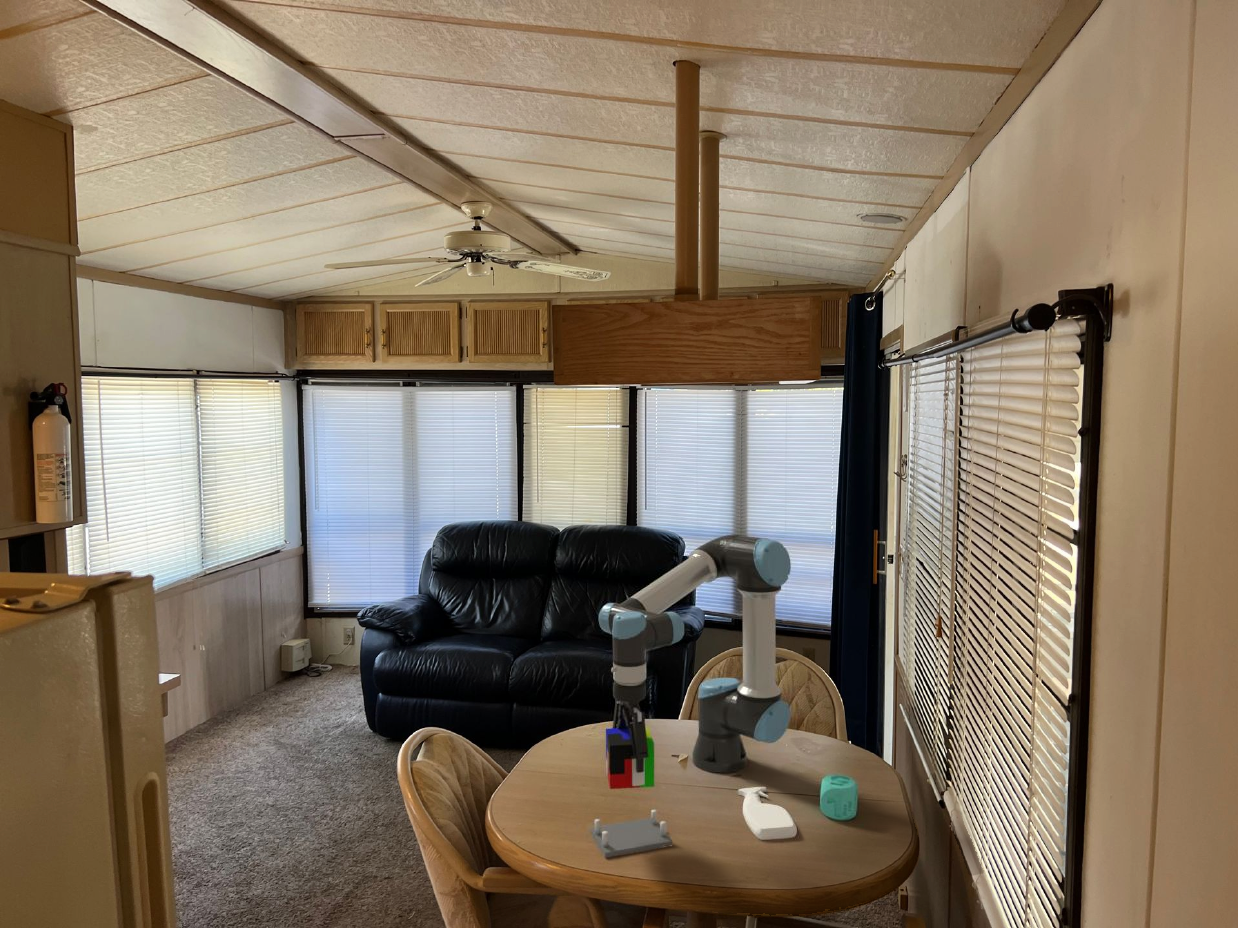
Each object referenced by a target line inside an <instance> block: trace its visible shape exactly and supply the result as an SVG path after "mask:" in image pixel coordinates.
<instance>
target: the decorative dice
mask: <svg viewBox="0 0 1238 928" xmlns="http://www.w3.org/2000/svg"><path fill="white" fill-rule="evenodd" d="M858 787H859V786H858V783H857V782H856V781H855V779H854V778H852V777H850V776H848V775H843V774H838V773H836V774H834V773H833V774H828V775H826V776H824V777H823V778H822V780H821V786H820V792H819V793H820V797H819V800H820V801H819V805H820V806H819V807H820V811H821V812H822V813H823V815H825V816H826V817H827V818H829V819H832V820H837V821H848V820H852V819H853V818H855V817H856V816H857V815H856V814H857V811H858V796H859V795H858V794H859V791H858V789H859V788H858Z"/></svg>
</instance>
